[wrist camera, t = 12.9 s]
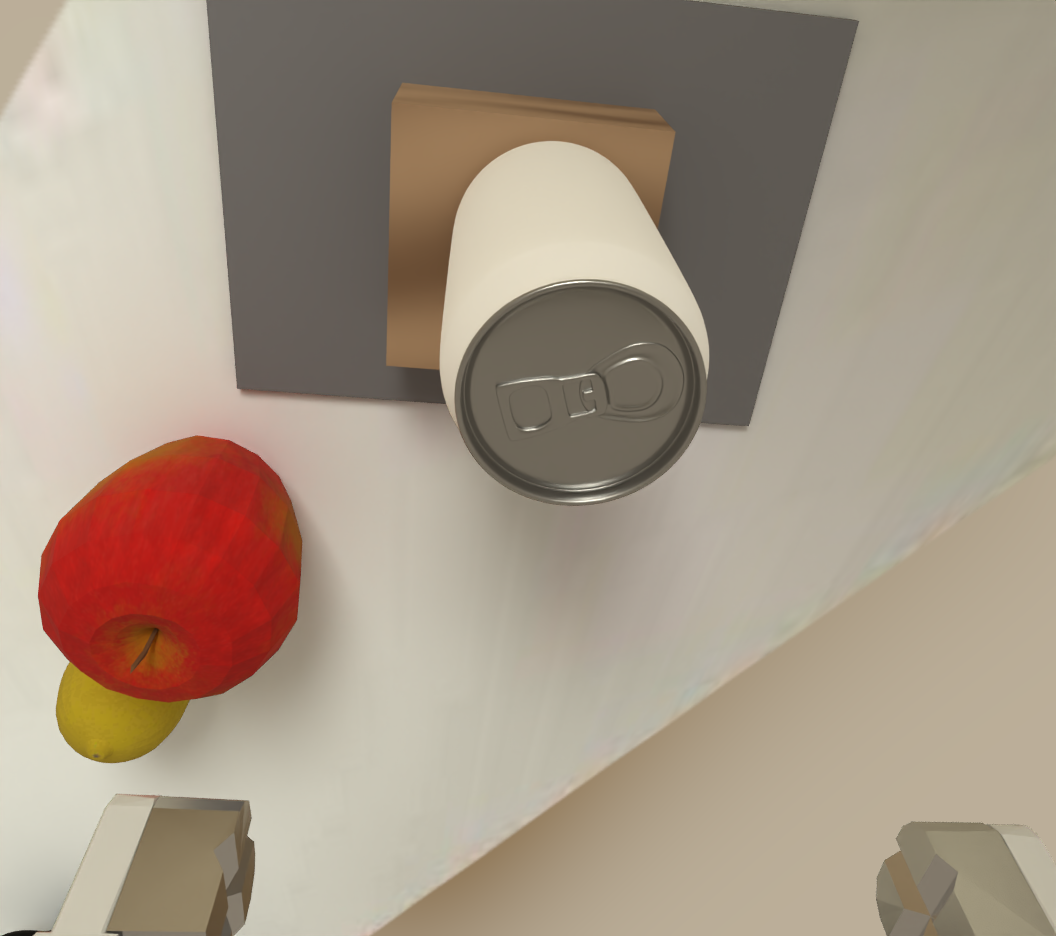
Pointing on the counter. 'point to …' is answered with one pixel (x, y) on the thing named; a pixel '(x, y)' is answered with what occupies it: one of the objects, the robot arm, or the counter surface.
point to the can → (568, 330)
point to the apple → (175, 572)
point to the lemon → (111, 719)
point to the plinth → (458, 157)
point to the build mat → (521, 69)
